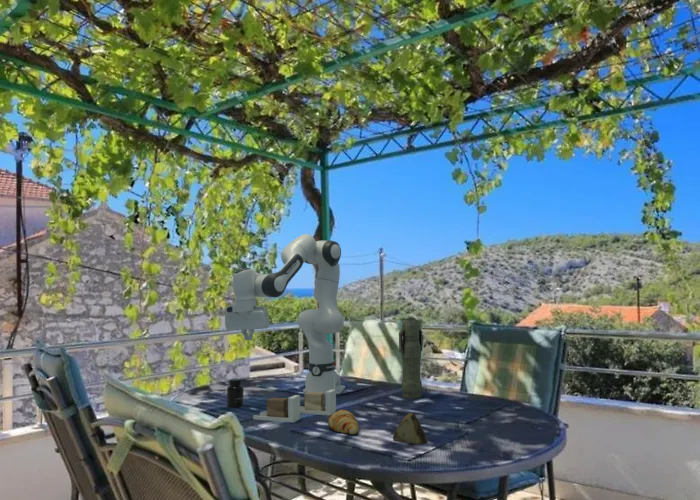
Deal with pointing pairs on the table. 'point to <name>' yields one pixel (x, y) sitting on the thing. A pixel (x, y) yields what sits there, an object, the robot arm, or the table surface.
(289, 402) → the grey l-shaped bracket
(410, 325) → the thermos
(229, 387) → the supplement bottle
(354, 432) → the croissant
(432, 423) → the table surface
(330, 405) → the white l-shaped piece
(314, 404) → the tan wooden block
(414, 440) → the rock
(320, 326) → the robot arm
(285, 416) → the brown wooden block
